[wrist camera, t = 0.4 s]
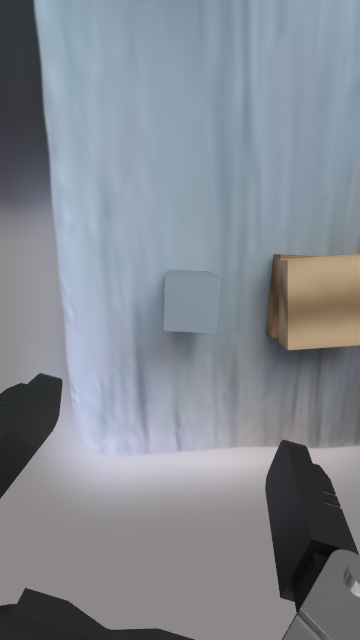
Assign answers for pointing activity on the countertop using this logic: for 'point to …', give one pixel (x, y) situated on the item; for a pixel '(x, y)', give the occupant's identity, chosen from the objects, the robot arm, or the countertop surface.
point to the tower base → (276, 297)
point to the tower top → (319, 302)
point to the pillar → (191, 301)
